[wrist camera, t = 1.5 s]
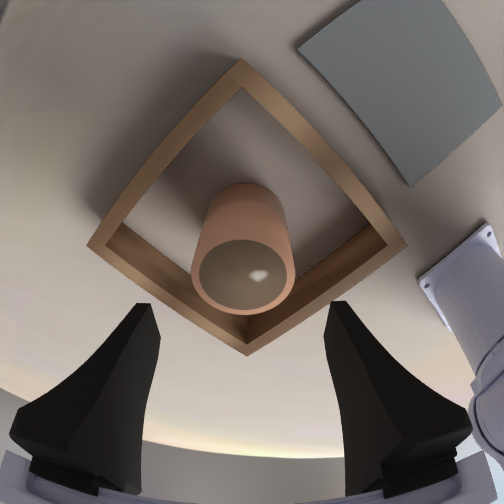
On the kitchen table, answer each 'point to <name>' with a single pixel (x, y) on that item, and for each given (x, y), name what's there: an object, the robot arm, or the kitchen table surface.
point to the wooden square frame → (305, 288)
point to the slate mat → (406, 78)
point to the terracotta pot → (244, 252)
